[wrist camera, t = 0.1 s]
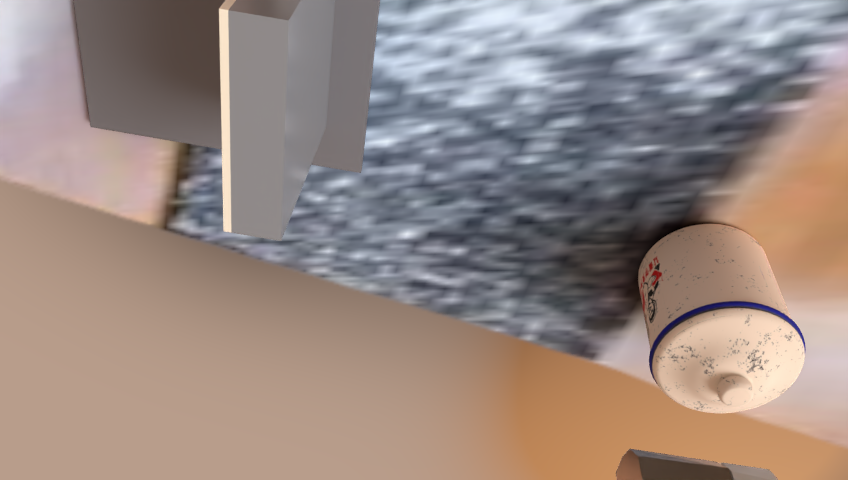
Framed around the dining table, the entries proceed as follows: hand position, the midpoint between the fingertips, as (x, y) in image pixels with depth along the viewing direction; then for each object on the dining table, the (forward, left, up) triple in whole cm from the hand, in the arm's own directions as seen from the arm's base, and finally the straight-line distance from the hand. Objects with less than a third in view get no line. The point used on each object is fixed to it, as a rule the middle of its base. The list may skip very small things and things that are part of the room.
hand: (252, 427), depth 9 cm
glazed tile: (+13, -7, -38) cm, 41 cm away
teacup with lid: (+27, +22, -39) cm, 52 cm away
